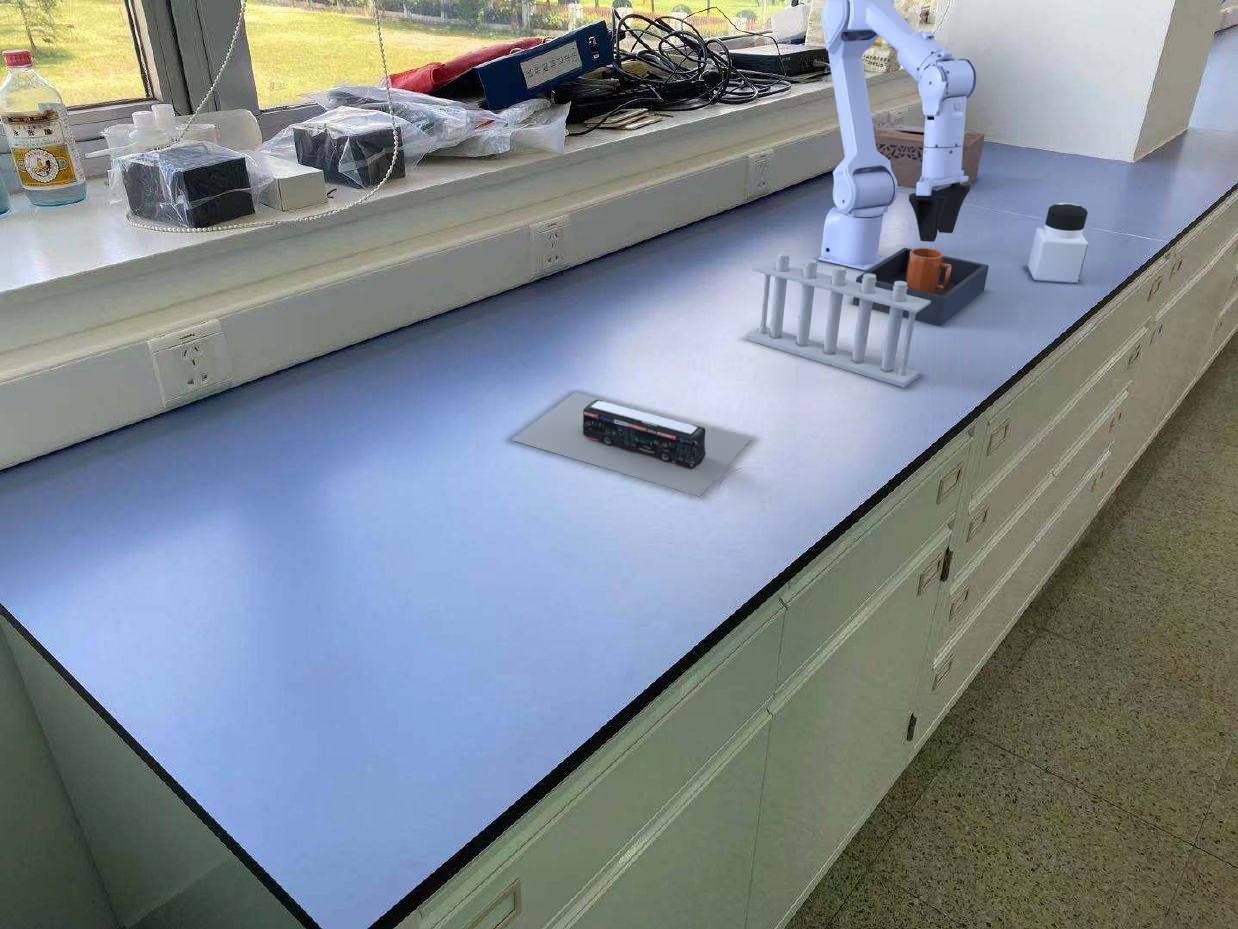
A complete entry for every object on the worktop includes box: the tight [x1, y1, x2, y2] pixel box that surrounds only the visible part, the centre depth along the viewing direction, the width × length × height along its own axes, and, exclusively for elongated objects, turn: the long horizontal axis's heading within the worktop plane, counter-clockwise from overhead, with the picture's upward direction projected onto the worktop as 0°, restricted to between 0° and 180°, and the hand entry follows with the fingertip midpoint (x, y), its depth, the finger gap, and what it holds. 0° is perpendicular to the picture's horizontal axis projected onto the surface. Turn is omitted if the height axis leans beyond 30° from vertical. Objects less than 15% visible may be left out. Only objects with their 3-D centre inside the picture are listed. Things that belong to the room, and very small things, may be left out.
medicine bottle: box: [1027, 202, 1089, 284], centre depth 162 cm, size 7×7×12 cm
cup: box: [905, 247, 952, 294], centre depth 153 cm, size 7×5×7 cm
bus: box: [511, 392, 751, 497], centre depth 115 cm, size 14×25×4 cm, turn 60°
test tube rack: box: [745, 252, 931, 388], centre depth 133 cm, size 25×4×13 cm, turn 51°
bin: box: [852, 247, 990, 327], centre depth 155 cm, size 15×19×4 cm
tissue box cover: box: [855, 120, 986, 188], centre depth 217 cm, size 26×14×10 cm, turn 58°
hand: (936, 236), depth 151 cm, fingers open, 7 cm apart
